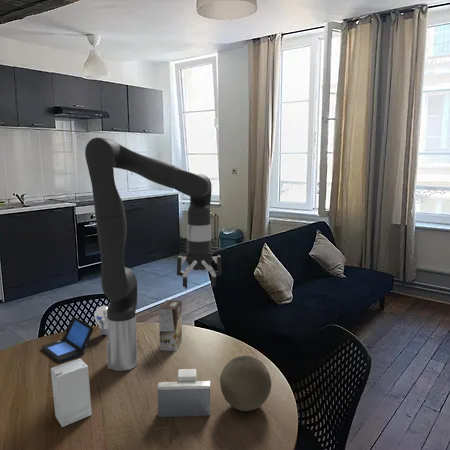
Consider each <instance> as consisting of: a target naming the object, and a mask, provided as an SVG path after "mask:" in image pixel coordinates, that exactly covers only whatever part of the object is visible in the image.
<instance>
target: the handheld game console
mask: <svg viewBox="0 0 450 450" xmlns="http://www.w3.org/2000/svg"><path fill="white" fill-rule="evenodd" d="M93 332H94V327H93V326H91V325H90V324H88V323H86V322H85V321H83V320H81V319H80V318H78V317H76V316H73V317H72V319H71V320H70V323H69V325H68V327H67V328H66V331H65V333H64V335H63V336H62V338H61V339H58V340H55V341H52V342H49V343H45V344H43V345H41V350H42V351H43V352H44V353H46V354H47V355H48V356H50V357H51V358H53V360H55V361H56V362H57V363H63V362H64V363H65V362H66V361H70V360H74V358H79V357H81V356H84V355H85V350H86V348H87V345H88V343H89V341H90V339H91V336H92V334H93Z"/></svg>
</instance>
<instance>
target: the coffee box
mask: <svg viewBox="0 0 450 450" xmlns="http://www.w3.org/2000/svg"><path fill="white" fill-rule="evenodd" d="M182 302H183V301H182V300H173V299H171V300H165V301H164V302H163V303H162V304H161V305H160V306H159V307H158V319H159V320H158V321H159V325H158V326H159V351H169V352H170V351H172V352H176V351H177V350H178V348H179V346H180V345H181V343H182V341H183V320H182V319H183V317H182V316H183V314H182V313H183V311H182V310H183V308H182V305H183V304H182Z"/></svg>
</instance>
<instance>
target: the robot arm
mask: <svg viewBox="0 0 450 450" xmlns="http://www.w3.org/2000/svg"><path fill="white" fill-rule="evenodd" d="M84 154H85V155H84V156H85V161H86V165H87V170H88V173H89V178H90V183H91V188H92V189H91V190H92V198H93V206H94V215H95V217H94V218H95V224H96V233H97V238H98V246H99V252H100V266H101V267H100V269H101V271H100V273H101V275H100V276H101V288H102V292H103V294H104V296H105V297H106V298H107V299H109V300H110V301H109V304H108V309H107V325H108V334H107V341H106V357H107V358H106V359H107V360H106V361H107V369H108V370H112V371H115V372H124V371H130V370H131V369H134V368H135V367H136V366H137V365H138V349H137V348H138V342H137V340H138V339H137V316H136V310H137V306H138V280H137V275H136V274H135V272H134V271H133V269H130V268H129V267H126V266H125V261H124V259H125V258H124V255H125V254H124V253H125V246H126V239H127V232H128V230H127V229H128V228H127V227H128V226H127V217H126V211H125V210H126V209H125V205H124V203H123V200H122V199H121V196H120V193H119V191H118V189H117V186H116V181H115V173H114V172H115V171H114V169H120V170H124V171H128V172H130V173H133V174H136V175H139V176H140V177H142V178H144V179H146V180H147V181H150V182H153V183H156V184H157V185H161V186H163V187H166V188H170V189H173V190H176V191H178V192H179V193H182V194H183V195H186V196H188V197H190V198H189V199H190V200H189V207H188V210H187V231H186V238H187V239H186V243H187V244H186V246H187V248H186V249H187V251H186V252H187V254H186V256H182V255H178V256H177V259H176V260H177V261H176V264H177V265H176V275H177V276H180V277H182V287H183V288H184V289H185V290H186V289H188V275H189V274H190V272H191V271H192V270H194V271H205V270H206V271H207V272H208V273H209V274H210V275H211V289H215V287H216V286H217V277H218V276H222V274H223V271H222V257H221V255H220V254H219V255H218V254H217V256H212V228H211V199H212V192H213V191H212V190H213V189H212V188H213V187H212V186H213V185H212V181H211V179H210V178H209V177H208V175H205V174H202V173H200V174H198V173H197V174H196V173H193V172H190V171H187V170H184V169H182V168H181V167H179V166H177V165H175V164H171V163H168V162H165V161H163V160H160V159H156V158H153V157H149V156H146V155H143V154H141V153H138V152H136V151H134V150H132V149H129V148H127V147H126V146H124V145H122V144H120V143H118V142H117V141H115V140H113V139H111V138H105V137H94V138H91V139H90V140H89V141H88V142H87V144H86V146H85V150H84ZM185 261H186V263H187V264H188V265H187V266H186V268H185V270H184V271H183V270H182V264H184V263H185ZM212 261H214V263H215V264H216V265H217V270H216V271H215V269H214V268H213V267H212V265H211V263H212Z"/></svg>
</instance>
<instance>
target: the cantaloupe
mask: <svg viewBox="0 0 450 450" xmlns="http://www.w3.org/2000/svg"><path fill="white" fill-rule="evenodd" d="M220 373H221V374H220V376H219V383H220V384H219V385H220V389H221V394H222V396H223V398H224V400H225V401H226V402H227V404H229V406H230V407H231V408H234V409H235V410H239V411H241V412H250V411H254V410H256V409H258V408H260V407H262V406H263V405H264V404H265V402H267V399H268V398H269V396H270V393H271V391H272V379H271V375H270V373H269V370H268V368H267V367H266V365H265V364H264V362H262V361H261V360H259V359H258V358H256V357H254V356H252V355H240V356H237V357H236V356H235V357H234V358H232V359H231V360H229V361H228V362H226V364H225V366H224V367H223V369H222V370H221V372H220Z"/></svg>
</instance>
